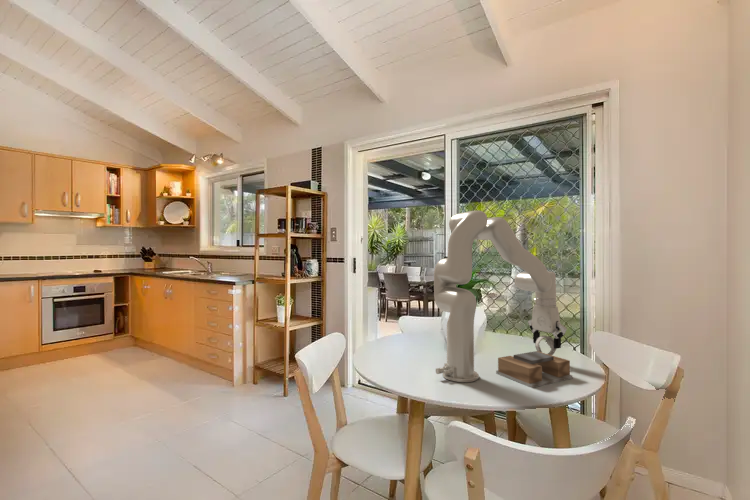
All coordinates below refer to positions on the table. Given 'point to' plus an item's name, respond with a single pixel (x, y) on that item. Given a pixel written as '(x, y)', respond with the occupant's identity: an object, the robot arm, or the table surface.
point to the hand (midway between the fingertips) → (546, 345)
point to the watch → (549, 341)
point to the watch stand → (534, 368)
